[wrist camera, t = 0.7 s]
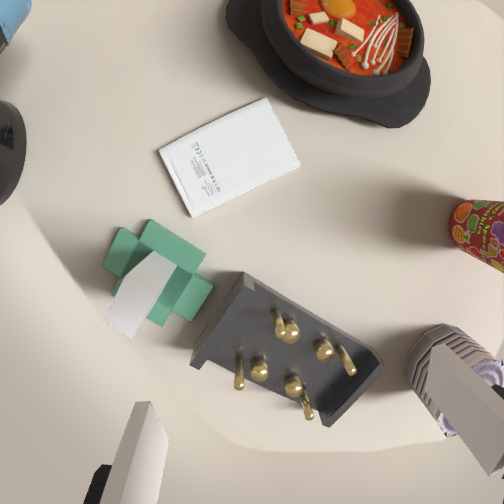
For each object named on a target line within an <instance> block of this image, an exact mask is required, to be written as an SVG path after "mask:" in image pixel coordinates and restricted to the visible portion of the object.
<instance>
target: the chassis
mask: <svg viewBox="0 0 504 504" xmlns="http://www.w3.org/2000/svg"><path fill="white" fill-rule="evenodd" d="M207 359H208V360H210V361H212V362H214V363H216V364H218V365H220V366H222V367H224V368H226V369H228V370H230V371H232V372H234V373H235V380H234V387H235V389H236V390H242V389H243V388H244V378H246V379H248V380H250V381H252V382H254V383H256V384H258V385H260V386H263V387H265V388H267V389H269V390H271V391H273V392H276V393H278V394H280V395H282V396H284V397H287V398H289V399H291V400H294V401H296V402H298V403H301V404H302V407H303V410H304V414H305V418H306V420H312V419H313V418H314V414H313V411H312V408H313V409H315V410H318V412H319V415H320V419H321V422H322V425H324V426H326V427H331V426H332V425H333V424H334V423H335V422H336V421H337V420H338V419H339V418H340V417H341V416H342V415H343V414H344V413H345V412H346V411H347V410H348V409H349V408H350V407H351V406H352V405H353V403H354V402H355V401H356V400H357V399H358V398H359V397H360V396H361V395H362V394H363V393H364V392H365V391H366V390H367V388H368V387H369V386H370V385H371V384H372V383H373V382H374V381H375V380H376V378H377V377H378V376H379V375H380V374H381V373H382V371H383V370H384V369H385V368H386V366H385V364H384V363H383V361H382V360H381V359H380V357H379V356H378V354H377V353H376V352H375V350H374V349H373V348H371V347H369V346H368V345H366V344H364V343H363V342H361V341H359V340H357V339H356V338H354V337H352V336H351V335H349V334H347V333H345V332H344V331H342V330H340V329H339V328H337V327H335V326H333V325H332V324H330V323H328V322H327V321H325V320H323V319H322V318H320V317H318V316H317V315H315V314H313V313H312V312H310V311H308V310H306V309H305V308H303V307H301V306H300V305H298V304H296V303H295V302H293V301H291V300H290V299H288V298H286V297H285V296H283V295H281V294H280V293H278V292H277V291H275V290H273V289H272V288H270V287H268V286H267V285H265V284H263V283H262V282H260V281H258V280H257V279H255V278H253V277H252V276H250V275H249V274H247V273H245V272H243V273H242V275H241V276H240V278H239V279H238V281H237V282H236V284H235V285H234V287H233V288H232V290H231V291H230V293H229V294H228V296H227V297H226V299H225V300H224V302H223V303H222V305H221V306H220V308H219V309H218V311H217V312H216V314H215V315H214V317H213V318H212V320H211V321H210V323H209V324H208V326H207V327H206V329H205V330H204V332H203V333H202V334H201V336H200V337H199V339H198V340H197V342H196V343H195V345H194V349H193V353H192V357H191V361H190V366H192V367H194V368H196V369H198V370H200V368H201V367H202V365H203V364H204V363H205V361H206V360H207Z"/></svg>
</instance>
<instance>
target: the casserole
mask: <svg viewBox="0 0 504 504" xmlns="http://www.w3.org/2000/svg"><path fill="white" fill-rule="evenodd" d="M226 20H227V23H228V26H229V28H230V29H231V30H232V31H233V32H234V33H235V34H236V35H237V36H238V37H239V38H240V39H241V40H242V41H243V42H244V43H245V44H246V45H247V46H248V47H249V48H250V49H251V50H252V52H253V53H254V55H255V56H256V58H257V59H258V61H259V62H260V64H261V65H262V67H263V68H264V70H265V71H266V73H267V75H268V76H269V77H270V78H271V79H272V80H273V81H274V82H275V83H276V84H277V85H278V86H279V87H280V88H281V89H283V90H284V91H285V92H287V93H288V94H289V95H291V96H292V97H293V98H295V99H297V100H299V101H301V102H303V103H305V104H307V105H308V106H310V107H313V108H316V109H319V110H322V111H325V112H330V113H336V114H342V115H349V116H355V117H360V118H363V119H365V120H368V121H371V122H373V123H376V124H378V125H381V126H383V127H386V128H400V127H402V126H404V125H406V124H408V123H410V122H411V121H412V120H413V119H414V118H415V117H416V116H418V114H419V113H420V111H421V110H422V108H423V107H424V106H425V103H426V100H427V98H428V95H429V91H430V84H431V77H430V69H429V66H428V64H427V61H426V59H425V58H424V57H423V49H424V32H423V27H422V24H421V21H420V18H419V15H418V14H417V12H416V10H415V8H414V6H413V5H412V3H411V2H410V1H409V0H230V1H229V4H228V6H227V10H226Z"/></svg>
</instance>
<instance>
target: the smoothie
mask: <svg viewBox="0 0 504 504" xmlns="http://www.w3.org/2000/svg"><path fill="white" fill-rule="evenodd" d="M450 233H451V237H452V239H453V240H454V242H455V244H456V245H457V247H458V248H459V249H461V250H462V251H464V252H466V253H468V254H470V255H471V256H473V257H475V258H477V259H479V260H481V261H483V262H485V263H486V264H488V265H490V266H492V267H494V268H496V269H497V270H499V271H501V272H503V273H504V202H500V201H486V200H466V201H465V202H463V203H462V204H460V205H459V206H457V207H456V209H455V210H454V211H453V213H452V216H451V219H450Z"/></svg>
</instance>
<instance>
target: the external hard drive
mask: <svg viewBox="0 0 504 504" xmlns="http://www.w3.org/2000/svg"><path fill="white" fill-rule="evenodd" d="M159 153H160V155H161V157H162V159H163V161H164V163H165V165H166V167H167V169H168V171H169V173H170V175H171V177H172V179H173V181H174V183H175V185H176V187H177V189H178V191H179V193H180V195H181V197H182V199H183V201H184V203H185V205H186V207H187V209H188V211H189V213H190V215H191V217H192V218H194V217H196V216H198V215H200V214H202V213H204V212H206V211H208V210H210V209H212V208H214V207H216V206H218V205H220V204H222V203H224V202H226V201H228V200H230V199H232V198H235V197H237V196H239V195H241V194H243V193H245V192H247V191H249V190H251V189H253V188H255V187H257V186H260V185H262V184H264V183H266V182H268V181H270V180H272V179H275V178H277V177H279V176H281V175H283V174H285V173H287V172H290V171H292V170H294V169H296V168H298V167H300V166H301V165H300V163H299V161H298V159H297V156H296V154H295V152H294V150H293V148H292V146H291V144H290V142H289V140H288V138H287V136H286V134H285V132H284V130H283V128H282V126H281V124H280V122H279V120H278V118H277V116H276V114H275V112H274V110H273V108H272V106H271V104H270V103H269V101H268V99H267V98H263V99H261V100H258V101H256V102H254V103H252V104H249V105H247V106H245V107H243V108H240V109H238V110H236V111H234V112H231V113H229V114H227V115H225V116H223V117H221V118H219V119H217V120H215V121H213V122H211V123H209V124H206V125H204V126H202V127H200V128H199V129H197V130H195V131H193V132H191V133H189V134H187V135H185V136H183V137H181V138H179V139H178V140H176V141H174V142H172V143H170V144H168V145H166V146H165V147H163V148H161V149H159Z"/></svg>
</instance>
